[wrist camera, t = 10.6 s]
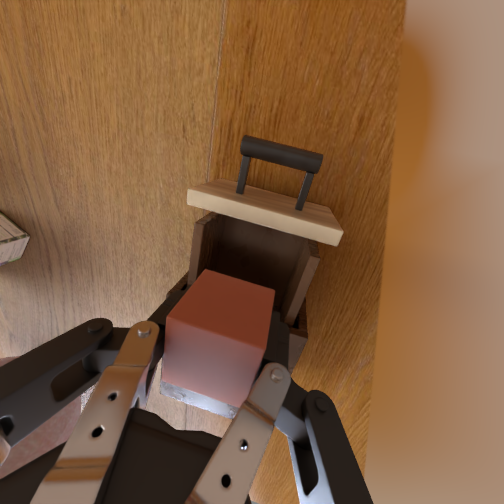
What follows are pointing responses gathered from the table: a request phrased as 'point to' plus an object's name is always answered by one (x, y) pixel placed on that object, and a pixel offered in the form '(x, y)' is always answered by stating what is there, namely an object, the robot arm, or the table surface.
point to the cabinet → (295, 349)
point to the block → (218, 337)
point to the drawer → (263, 228)
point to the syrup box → (11, 240)
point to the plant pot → (42, 435)
